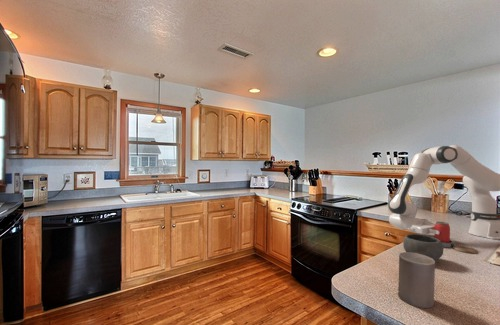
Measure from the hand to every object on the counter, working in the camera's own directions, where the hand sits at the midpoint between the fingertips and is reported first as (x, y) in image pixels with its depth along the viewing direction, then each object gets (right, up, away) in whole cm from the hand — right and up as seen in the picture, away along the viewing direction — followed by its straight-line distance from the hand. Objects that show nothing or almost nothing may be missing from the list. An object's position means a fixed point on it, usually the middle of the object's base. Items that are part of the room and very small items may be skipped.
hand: (443, 231), depth 131 cm
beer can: (0, -7, +1) cm, 7 cm away
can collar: (0, -7, +1) cm, 7 cm away
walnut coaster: (+5, -7, -7) cm, 11 cm away
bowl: (-26, -7, -20) cm, 33 cm away
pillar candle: (-52, -7, -53) cm, 74 cm away
